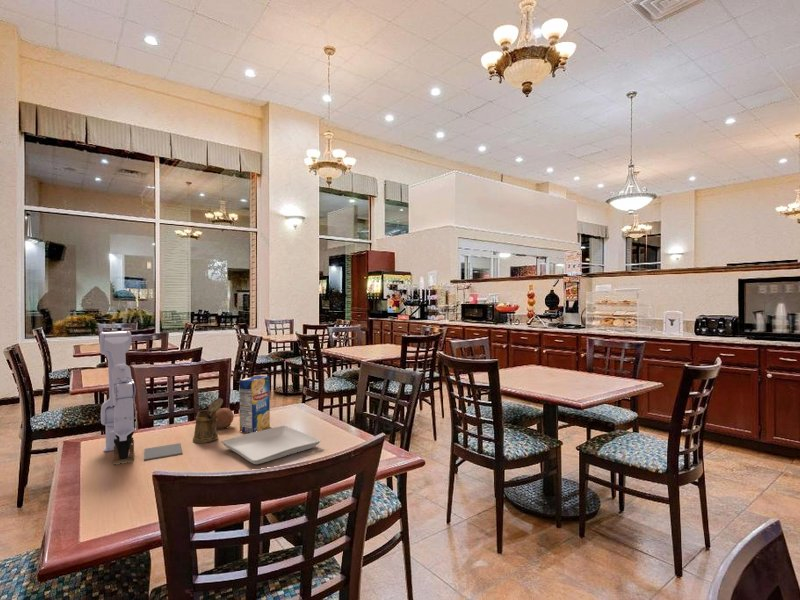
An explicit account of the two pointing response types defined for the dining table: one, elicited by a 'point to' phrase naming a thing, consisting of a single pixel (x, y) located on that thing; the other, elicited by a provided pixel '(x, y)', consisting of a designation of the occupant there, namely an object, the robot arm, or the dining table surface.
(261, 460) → the square plate
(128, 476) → the dining table surface
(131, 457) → the stool
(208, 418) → the wooden mug
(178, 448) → the mat
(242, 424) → the blue yellow food box
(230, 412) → the onion
